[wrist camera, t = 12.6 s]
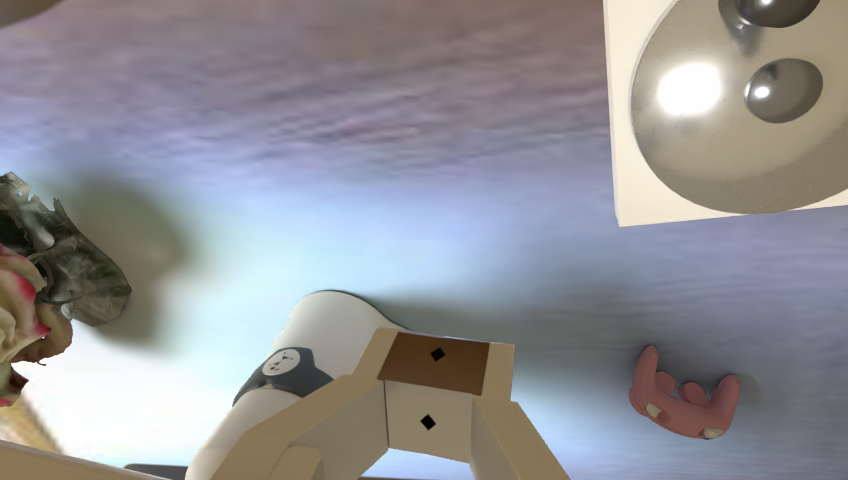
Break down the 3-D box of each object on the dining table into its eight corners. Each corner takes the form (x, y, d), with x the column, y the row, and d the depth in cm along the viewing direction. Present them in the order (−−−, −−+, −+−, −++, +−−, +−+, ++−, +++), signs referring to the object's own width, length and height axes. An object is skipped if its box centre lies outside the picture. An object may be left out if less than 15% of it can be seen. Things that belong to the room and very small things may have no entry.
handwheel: (961, 132, 31) (1079, 169, 24) (681, 239, 39) (710, 290, 32) (892, -142, 26) (1015, -193, 19) (587, 41, 34) (597, 51, 27)
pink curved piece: (626, 355, 51) (620, 418, 47) (648, 340, 47) (644, 406, 43) (715, 387, 50) (717, 454, 46) (745, 374, 46) (750, 446, 42)
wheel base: (888, 184, 36) (917, 199, 34) (615, 213, 42) (620, 228, 40) (948, -128, 28) (993, -143, 25) (600, -38, 34) (605, -42, 31)
